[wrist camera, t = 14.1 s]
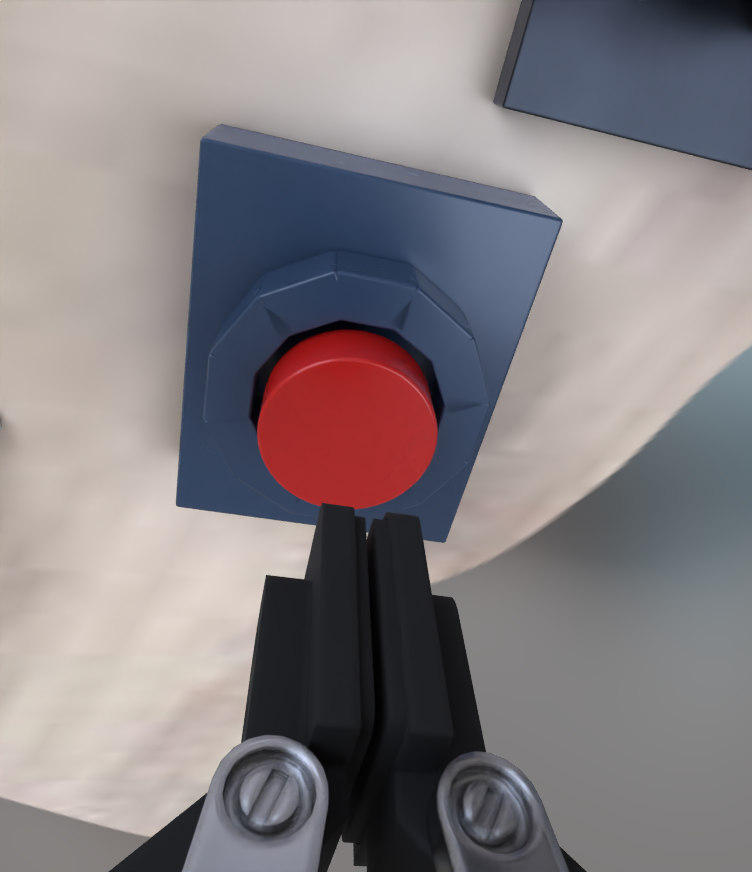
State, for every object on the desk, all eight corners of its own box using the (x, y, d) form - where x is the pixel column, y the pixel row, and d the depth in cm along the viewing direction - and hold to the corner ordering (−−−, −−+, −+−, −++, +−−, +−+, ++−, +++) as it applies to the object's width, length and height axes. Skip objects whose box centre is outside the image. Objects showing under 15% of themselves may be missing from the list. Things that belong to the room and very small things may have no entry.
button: (275, 312, 15) (269, 342, 14) (449, 345, 16) (460, 376, 15) (254, 459, 18) (247, 498, 16) (407, 482, 18) (413, 521, 17)
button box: (218, 123, 17) (183, 149, 13) (536, 196, 18) (588, 239, 14) (191, 459, 22) (161, 545, 19) (435, 495, 24) (453, 582, 20)
